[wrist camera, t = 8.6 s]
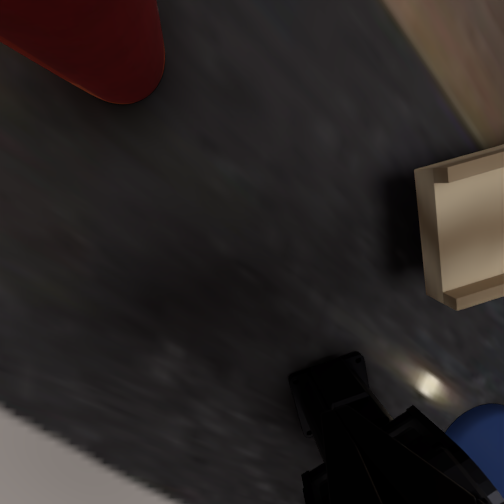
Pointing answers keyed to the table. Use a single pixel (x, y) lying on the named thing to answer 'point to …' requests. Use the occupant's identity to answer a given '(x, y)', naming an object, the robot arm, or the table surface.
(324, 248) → the table surface
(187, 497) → the table surface
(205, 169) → the table surface
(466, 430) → the water bottle
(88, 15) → the paper cup
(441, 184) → the oak beam
